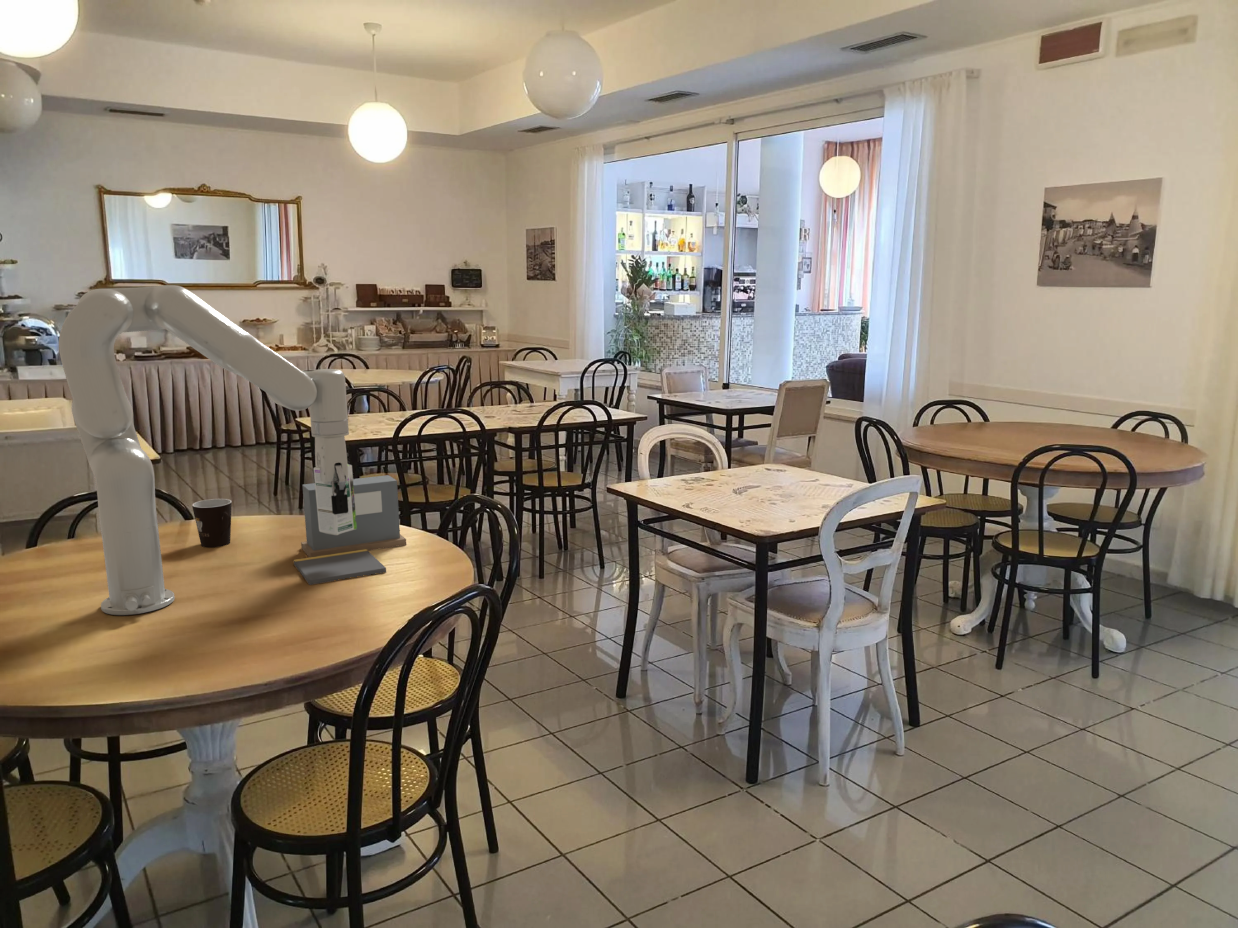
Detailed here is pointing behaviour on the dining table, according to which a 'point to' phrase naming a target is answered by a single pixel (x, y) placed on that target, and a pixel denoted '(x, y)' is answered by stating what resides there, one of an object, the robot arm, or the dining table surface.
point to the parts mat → (338, 566)
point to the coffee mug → (213, 522)
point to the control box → (357, 519)
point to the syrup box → (326, 518)
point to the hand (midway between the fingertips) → (335, 508)
